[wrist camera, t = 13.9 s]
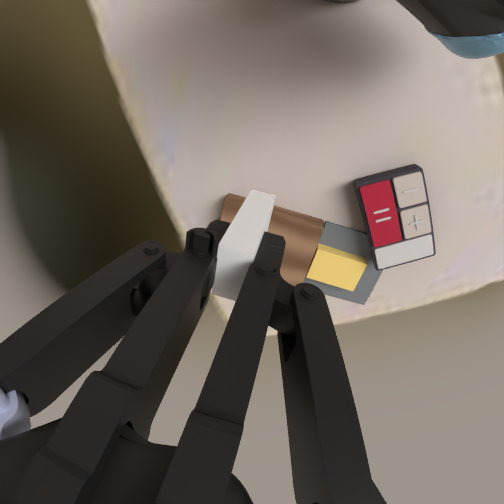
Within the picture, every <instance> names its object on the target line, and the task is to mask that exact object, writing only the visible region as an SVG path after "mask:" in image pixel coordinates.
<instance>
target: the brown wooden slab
mask: <svg viewBox="0 0 504 504" xmlns="http://www.w3.org/2000/svg"><path fill="white" fill-rule="evenodd" d="M245 199H246V198H245V197H241V196H237V195H234V194H230V193H229V194H228V195H227V197H226V198H225V199H224V203H223V209H222V214H221V221H225V222H229V223H232V221H233V219H234V218H235V216H236V214H237V213H238V211H239V209H240V208H241V206H242V204H243V203H244V201H245ZM323 229H324V222H323V220H321V219H318V218H315V217H311V216H308V215H305V214H301V213H298V212H295V211H291V210H288V209H284V208H281V207H277V206H274V207H273V211H272V215H271V219H270V223H269V227H268V231H267V232H269V233H273V234H276V235H280V236H283V237H284V239H285V241H286V245H285V250H284V254H283V259H282V264H281V268H280V274H281V276H282V278H283V279H284V280H285V281H286V282H288V283H289V284H291V285H293V286H296V284H299V283H303V281H304V279H305V276H306V274H307V271H308V269H309V266H310V263H311V261H312V258H313V256H314V253H315V250H316V248H317V245H318V242H319V240H320V237H321V234H322V232H323Z"/></svg>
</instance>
